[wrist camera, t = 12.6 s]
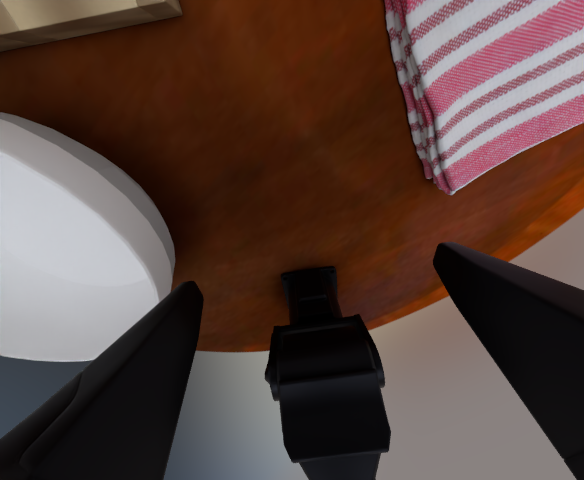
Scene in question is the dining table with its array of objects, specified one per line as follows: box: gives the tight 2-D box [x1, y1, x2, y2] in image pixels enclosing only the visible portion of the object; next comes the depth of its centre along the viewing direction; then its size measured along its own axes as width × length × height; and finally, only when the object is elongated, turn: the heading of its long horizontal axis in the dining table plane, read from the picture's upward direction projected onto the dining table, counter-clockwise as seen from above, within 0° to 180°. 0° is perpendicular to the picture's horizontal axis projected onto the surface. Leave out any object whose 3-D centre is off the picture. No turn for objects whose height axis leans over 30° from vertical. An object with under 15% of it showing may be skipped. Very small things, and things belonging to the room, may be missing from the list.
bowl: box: [0, 112, 175, 362], centre depth 16 cm, size 19×19×9 cm
